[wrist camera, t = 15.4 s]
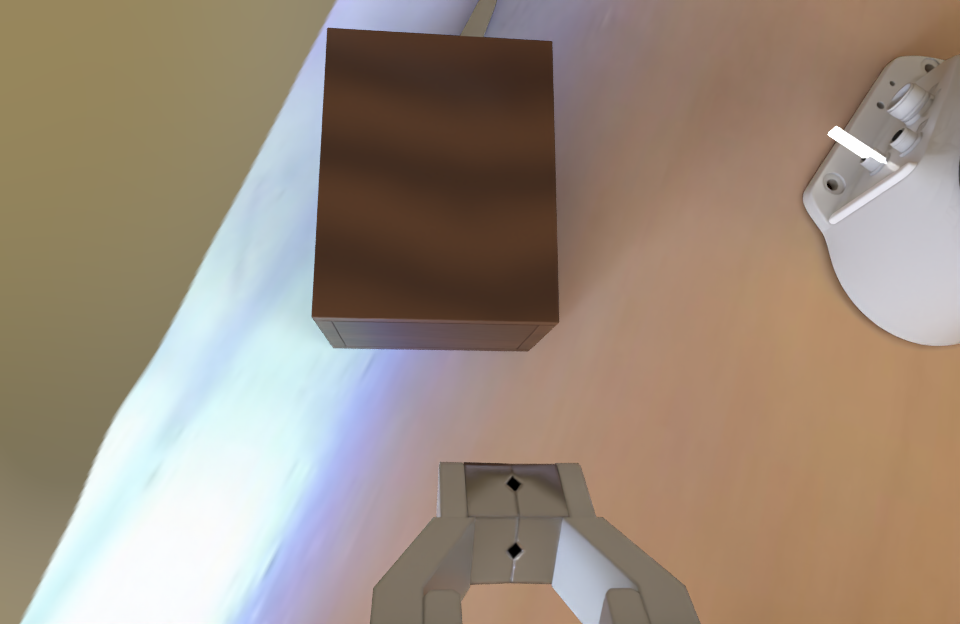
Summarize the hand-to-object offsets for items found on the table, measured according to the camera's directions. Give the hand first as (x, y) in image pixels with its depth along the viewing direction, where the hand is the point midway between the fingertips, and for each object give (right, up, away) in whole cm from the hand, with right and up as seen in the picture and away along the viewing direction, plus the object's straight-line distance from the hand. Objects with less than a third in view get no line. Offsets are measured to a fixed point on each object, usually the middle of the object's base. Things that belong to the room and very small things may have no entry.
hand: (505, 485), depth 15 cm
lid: (-3, +11, +23) cm, 26 cm away
